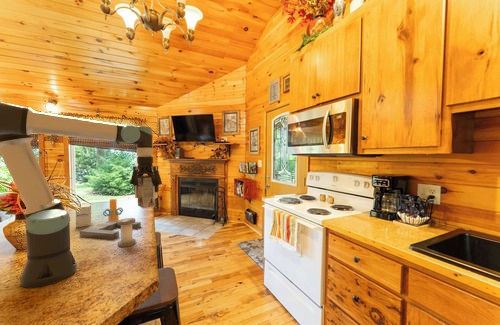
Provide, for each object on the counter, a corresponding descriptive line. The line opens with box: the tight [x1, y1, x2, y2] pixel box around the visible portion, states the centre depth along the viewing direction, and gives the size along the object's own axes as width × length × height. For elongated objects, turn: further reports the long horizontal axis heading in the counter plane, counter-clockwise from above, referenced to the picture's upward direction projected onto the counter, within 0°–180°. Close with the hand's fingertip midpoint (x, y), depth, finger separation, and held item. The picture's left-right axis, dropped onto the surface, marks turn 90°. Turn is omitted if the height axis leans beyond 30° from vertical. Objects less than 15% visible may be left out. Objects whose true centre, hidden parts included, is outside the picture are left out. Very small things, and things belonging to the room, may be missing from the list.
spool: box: [117, 217, 137, 248], centre depth 108 cm, size 8×8×12 cm
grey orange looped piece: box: [102, 198, 124, 221], centre depth 147 cm, size 12×10×15 cm
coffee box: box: [137, 174, 156, 209], centre depth 113 cm, size 9×6×16 cm
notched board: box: [79, 220, 142, 240], centre depth 127 cm, size 21×22×3 cm
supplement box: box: [75, 204, 92, 228], centre depth 139 cm, size 7×7×13 cm
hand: (146, 197), depth 113 cm, fingers closed on coffee box, 10 cm apart
